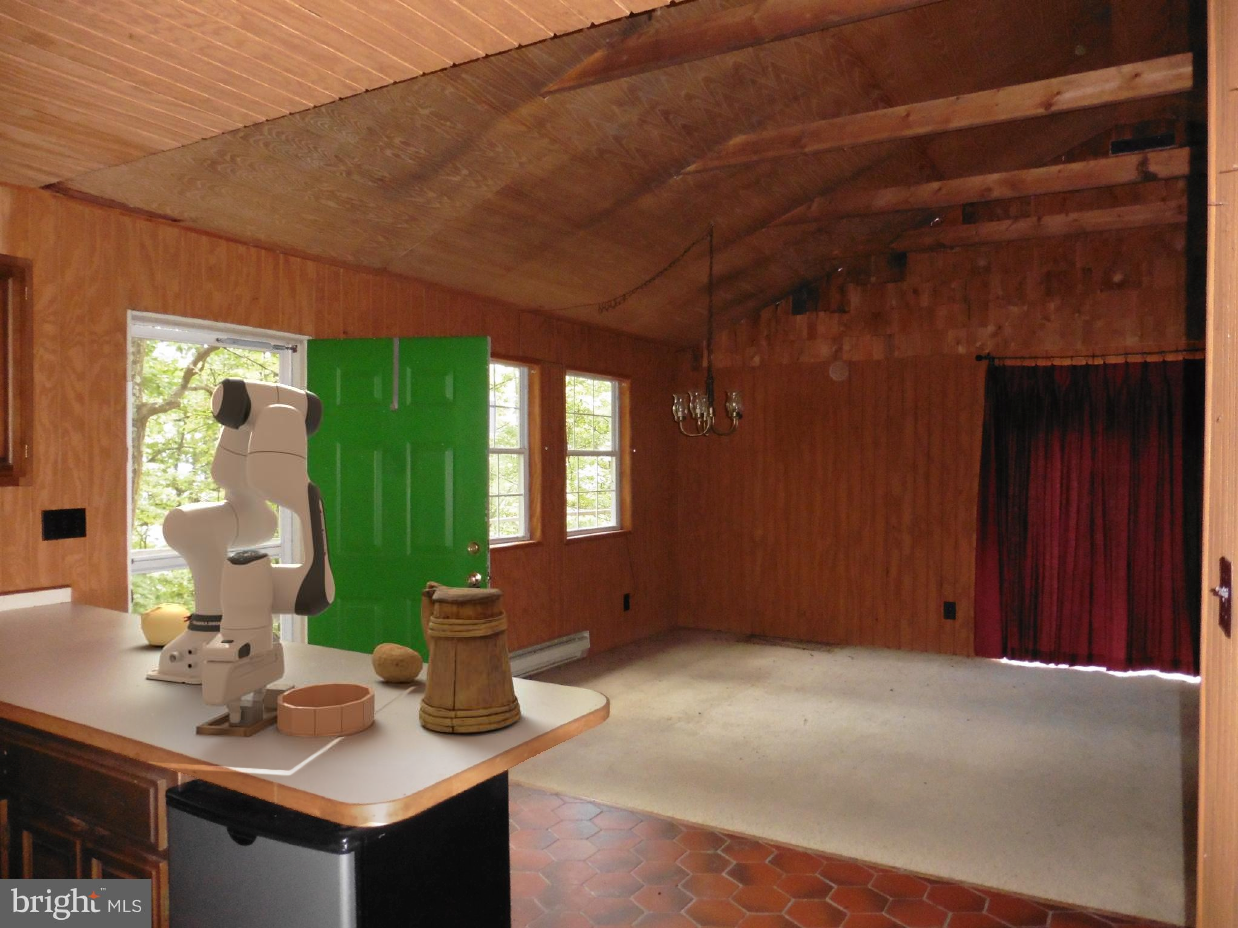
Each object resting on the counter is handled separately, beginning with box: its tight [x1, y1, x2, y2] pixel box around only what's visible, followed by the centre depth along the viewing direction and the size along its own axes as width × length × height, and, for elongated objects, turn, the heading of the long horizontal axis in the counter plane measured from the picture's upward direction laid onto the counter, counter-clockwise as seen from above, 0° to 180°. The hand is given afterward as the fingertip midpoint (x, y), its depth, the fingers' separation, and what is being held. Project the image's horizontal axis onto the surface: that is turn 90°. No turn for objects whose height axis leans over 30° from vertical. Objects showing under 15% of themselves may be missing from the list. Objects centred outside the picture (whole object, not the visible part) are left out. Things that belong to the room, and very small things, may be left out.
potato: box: [371, 642, 424, 684], centre depth 181 cm, size 10×14×8 cm
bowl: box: [276, 682, 376, 739], centre depth 151 cm, size 17×17×6 cm
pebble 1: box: [229, 699, 263, 726], centre depth 150 cm, size 4×4×4 cm
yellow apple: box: [140, 602, 192, 646], centre depth 216 cm, size 11×12×11 cm
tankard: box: [418, 581, 522, 734], centre depth 156 cm, size 18×24×25 cm
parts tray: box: [195, 699, 277, 738], centre depth 156 cm, size 10×26×2 cm, turn 172°
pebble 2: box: [264, 683, 296, 708], centre depth 161 cm, size 4×4×4 cm
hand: (246, 716), depth 150 cm, fingers open, 4 cm apart
